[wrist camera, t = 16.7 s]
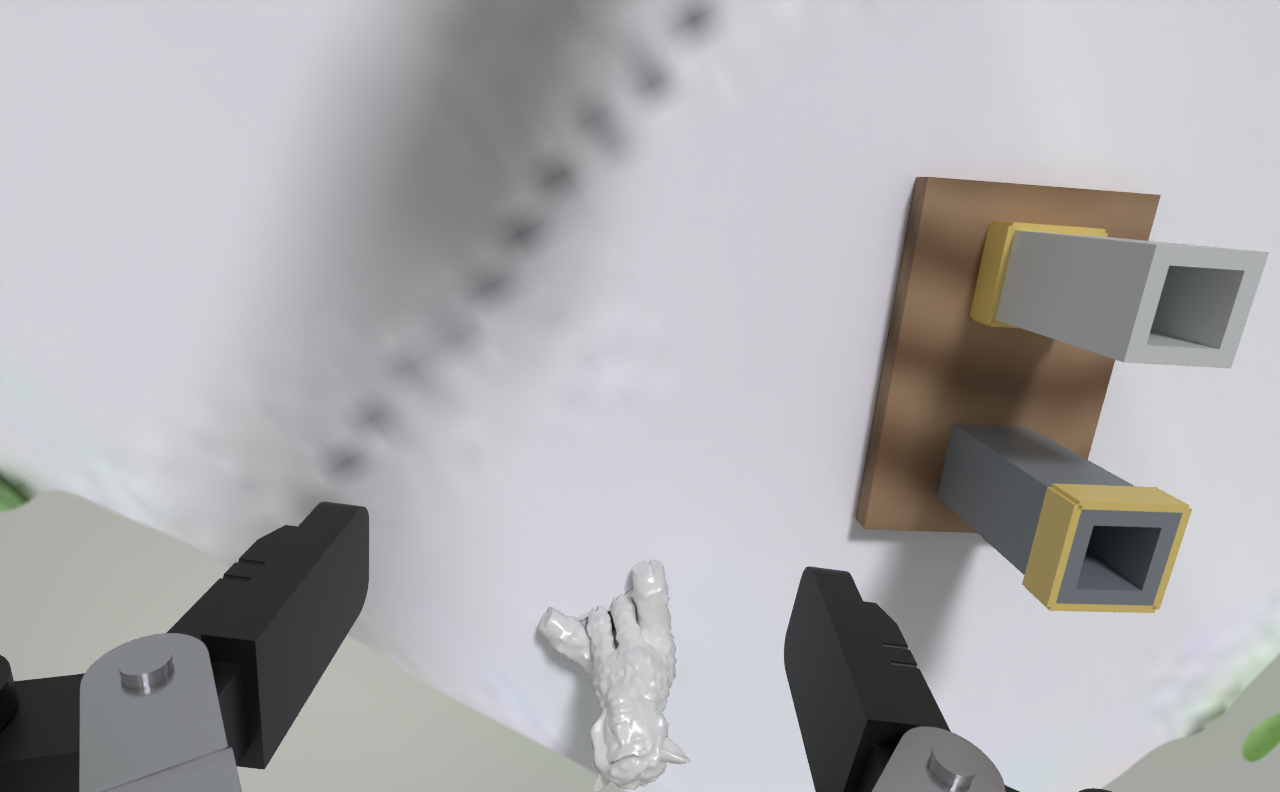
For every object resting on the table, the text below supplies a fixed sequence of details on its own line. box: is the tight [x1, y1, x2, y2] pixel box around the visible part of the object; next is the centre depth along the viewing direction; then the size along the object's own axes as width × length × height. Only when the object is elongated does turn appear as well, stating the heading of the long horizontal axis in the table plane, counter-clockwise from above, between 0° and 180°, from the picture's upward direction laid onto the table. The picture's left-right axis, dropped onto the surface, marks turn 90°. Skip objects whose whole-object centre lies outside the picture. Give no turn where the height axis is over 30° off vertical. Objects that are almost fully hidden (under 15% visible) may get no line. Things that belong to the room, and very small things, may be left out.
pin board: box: [856, 177, 1161, 533], centre depth 41 cm, size 22×14×6 cm, turn 176°
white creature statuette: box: [538, 560, 690, 792], centre depth 42 cm, size 10×9×12 cm
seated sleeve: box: [970, 221, 1268, 368], centre depth 35 cm, size 6×6×12 cm
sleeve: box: [937, 424, 1192, 613], centre depth 38 cm, size 6×6×12 cm
